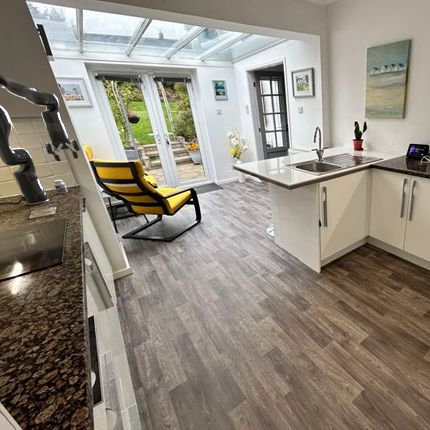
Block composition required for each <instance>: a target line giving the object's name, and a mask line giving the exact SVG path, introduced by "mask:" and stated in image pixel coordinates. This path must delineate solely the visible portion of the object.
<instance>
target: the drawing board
mask: <svg viewBox="0 0 430 430" xmlns="http://www.w3.org/2000/svg"><path fill="white" fill-rule="evenodd" d="M56 213H57V206H51V207H46V208H40V209H34V210H31V212H30V215H29V216H28V220H30V221H31V220H34V219H40V218H44V217H50V216H54V215H55V216H56Z"/></svg>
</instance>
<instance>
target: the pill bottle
mask: <svg viewBox="0 0 430 430" xmlns="http://www.w3.org/2000/svg"><path fill="white" fill-rule="evenodd" d="M53 183H54V185H53V186H54V188H55V190H56V193H57V194H59V195H61V194H66V193H68V192H69V191H68V189H67V185H66V183H65V182H63V179H56V180H53Z"/></svg>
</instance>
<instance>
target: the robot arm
mask: <svg viewBox="0 0 430 430" xmlns="http://www.w3.org/2000/svg"><path fill="white" fill-rule="evenodd" d="M0 88H3V89H5V90H6V91H7V92H9V93H10V94H11V95H14V96H15V97H16V96H17V97H18V98H19V97H20V98H22V99H25V100H27V101H29V102H30V103H32V104H33V105H36V106H39V107H40V106H41V107H46V108H45V109H46V110H43V111H41V113H40V114H41V117H42V119H43V123H44V125H45V129H46V132H47V134H48V136H49V139H50V141H51V142H45V143H44V146H45V149H46V152H47V154H49V155H52V156H53V158H54V160H55V161H56V162H62V160H61V158H60V155H59V152H60V151H62V150H63V151H64V150H69V151H70V152H71V154H72V157H73V159H75V160H77V159H78V158H79V155H78V151H80V150H81V149H80V147H79V145H78V143H77V140H75V139H72V140H70V139H69V135H68V133H67V130H66V128H65V125H64V123H63V121H62V118H61V116H60V103H59V99H58V97H57V96H56V95H55V94H54V93H53V92H50V91H37V90H36V89H35V88H34V87H32V86H29V85H27V84H25V83H21V82H18V81H16V80H14V79H11V78H9V77H7V76H5V75H3V74H1V73H0ZM12 128H13V123H12V121H11V118H10V116H9V113H8V112H7V110H6V109H5V108H4V107H3V106H1V105H0V160H1V161H2V163H3V164H5V165H6V166H9V167H14V166H19V167H18V168H17V169H16V170H15V171H13V172H12V174H13V177H14V179H15V181H16V183H17V185H18V187H19V190H20V192H21V194H22V195H21V196H20V199H19V200H18V201H17V202H12V201H11V202H10V201H7V202H5V201H4V202H0V205H6V204H9V205H18V204H21V203H22V202H26V204H27V205H28V206H34V205H41V204H45V203H48V202H49V201H50V199H49V198H48V196H47V192H46V191H45V189H44V187H43V185H42V183H41V181H40V179H39V176H38V174H37V170H36V166H35V164H34V161H33V157H32V156H31V153H30V152H29V151H28V150H26V148H23V147H14V148H12V147H11V145H10V135H11V132H12ZM71 145H72V146H71ZM52 147H53V148H52Z"/></svg>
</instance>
